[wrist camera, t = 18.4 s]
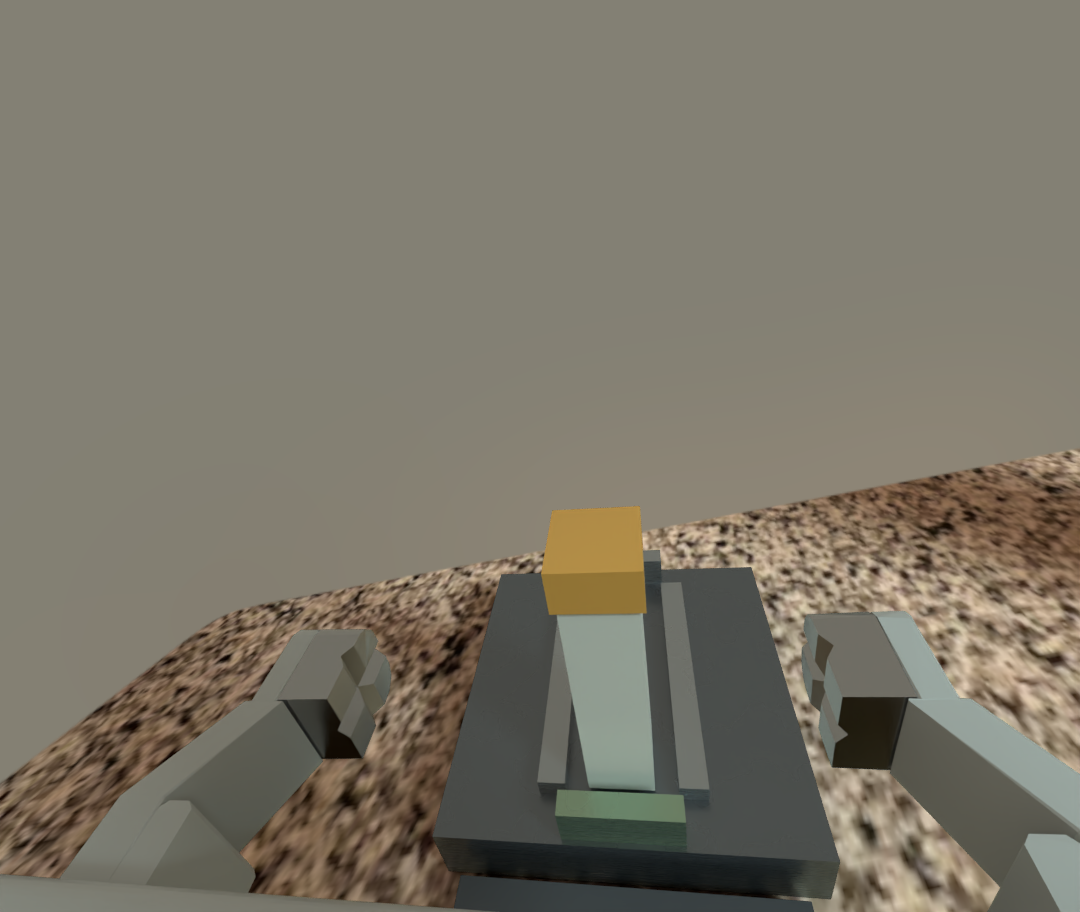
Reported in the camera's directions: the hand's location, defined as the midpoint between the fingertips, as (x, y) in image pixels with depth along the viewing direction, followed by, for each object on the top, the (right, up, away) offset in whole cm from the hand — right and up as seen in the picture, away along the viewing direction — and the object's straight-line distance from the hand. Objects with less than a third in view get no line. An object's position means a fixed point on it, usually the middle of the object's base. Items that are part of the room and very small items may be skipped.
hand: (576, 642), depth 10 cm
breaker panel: (+4, -11, +20) cm, 23 cm away
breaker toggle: (+3, -10, +14) cm, 18 cm away
